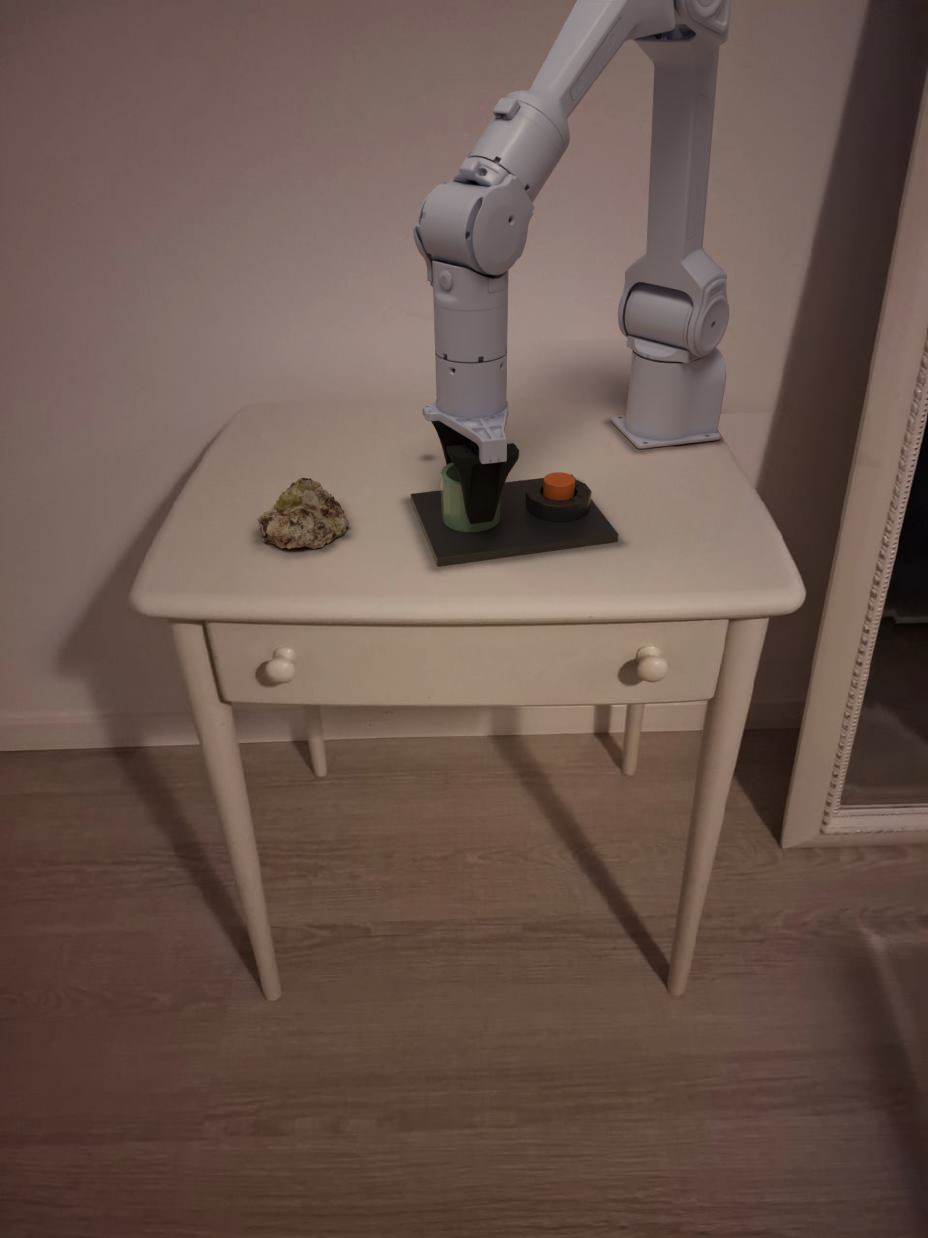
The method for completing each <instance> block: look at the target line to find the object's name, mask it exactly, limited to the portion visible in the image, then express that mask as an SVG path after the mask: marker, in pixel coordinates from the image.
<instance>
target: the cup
mask: <svg viewBox="0 0 928 1238" xmlns="http://www.w3.org/2000/svg"><path fill="white" fill-rule="evenodd" d="M439 475H440V477H439V479H440V490H441V512H442V520H443V522H444V524H445V525H446V526H448V527H449V528H451V529H453V530H456V531H461V532H481V531H486V530H489V529H491V528H493V527H495V526H496V525H497V524H498V523H499V521H500V518H501V495H500V499H499V503H498V507H497V510H496V514H495V517H494V520H493V521H492V522H484V523H476V524H470V522H469V520H468V517H467V514H466V510H465V505H464V499H463V493H462V487H461V483H460V479H459V476H458V473H457V470H456V467H455V465H454V463H453V462H452V463H449V464H447V465H446V464H445V466H443V467H442V468H441V470H440V474H439Z"/></svg>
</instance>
